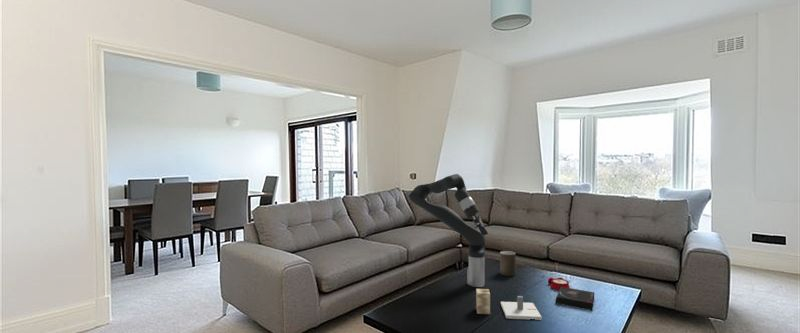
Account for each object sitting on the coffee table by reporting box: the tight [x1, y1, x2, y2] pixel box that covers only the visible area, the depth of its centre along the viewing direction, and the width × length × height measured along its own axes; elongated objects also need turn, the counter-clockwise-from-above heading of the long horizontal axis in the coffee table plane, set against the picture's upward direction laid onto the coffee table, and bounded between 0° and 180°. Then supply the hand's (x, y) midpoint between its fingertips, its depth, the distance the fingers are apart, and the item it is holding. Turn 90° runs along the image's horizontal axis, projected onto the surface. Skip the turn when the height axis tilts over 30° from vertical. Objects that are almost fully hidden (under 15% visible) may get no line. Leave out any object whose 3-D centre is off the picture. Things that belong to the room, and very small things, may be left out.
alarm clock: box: [547, 277, 572, 291], centre depth 212 cm, size 10×6×15 cm
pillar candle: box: [499, 250, 517, 277], centre depth 235 cm, size 10×10×15 cm
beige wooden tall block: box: [475, 288, 491, 315], centre depth 179 cm, size 6×6×10 cm
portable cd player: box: [554, 287, 595, 311], centre depth 191 cm, size 16×17×4 cm
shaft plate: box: [500, 295, 543, 321], centre depth 178 cm, size 16×16×8 cm
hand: (485, 234), depth 188 cm, fingers open, 8 cm apart
